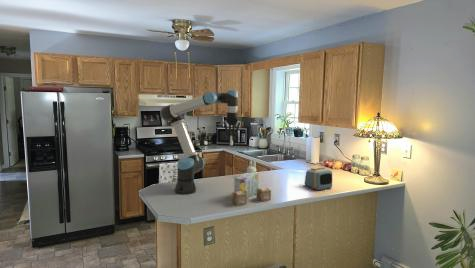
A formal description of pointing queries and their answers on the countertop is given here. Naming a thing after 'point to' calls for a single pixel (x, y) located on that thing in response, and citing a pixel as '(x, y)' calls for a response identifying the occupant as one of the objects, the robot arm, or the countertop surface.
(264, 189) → the walnut block
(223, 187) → the countertop surface
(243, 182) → the snack box
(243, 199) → the walnut block
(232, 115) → the robot arm
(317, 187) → the alarm clock
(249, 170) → the toy
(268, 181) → the countertop surface
